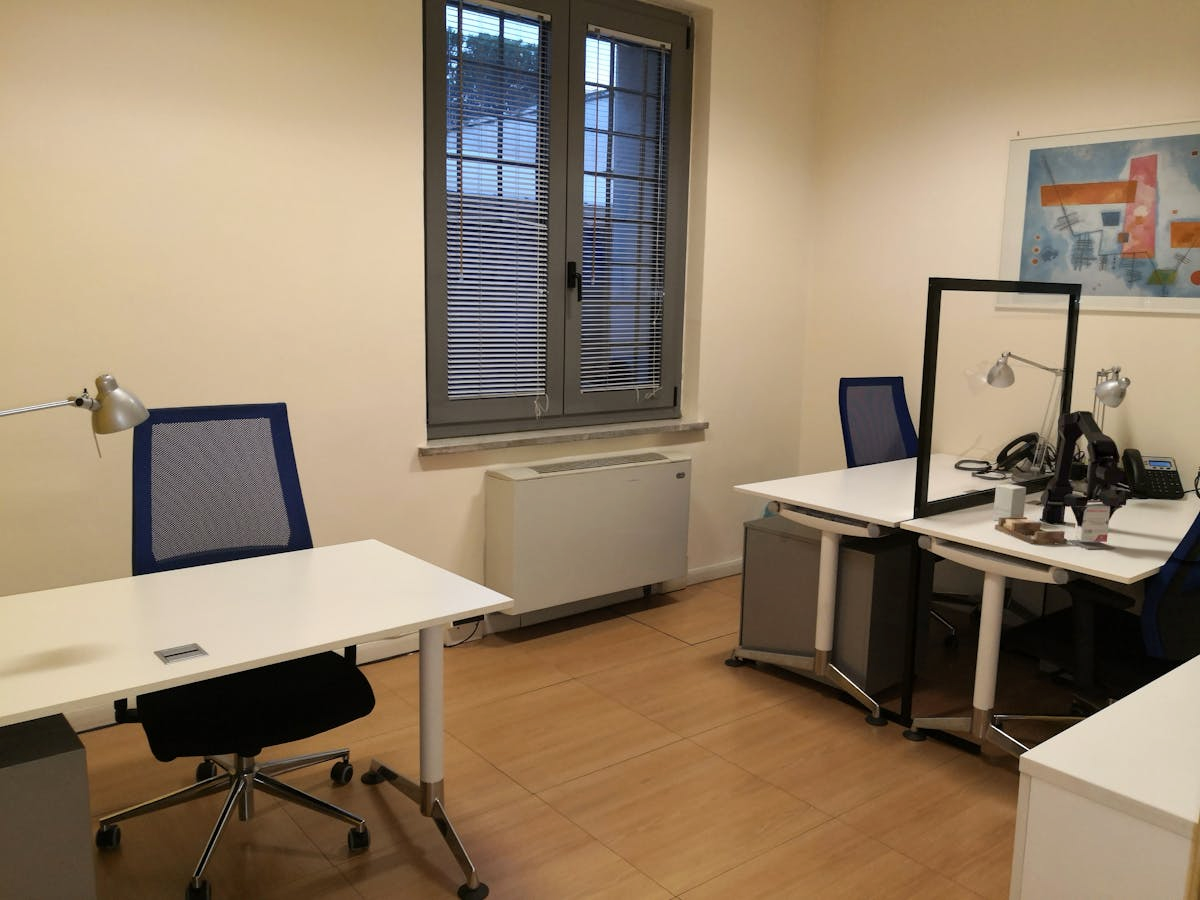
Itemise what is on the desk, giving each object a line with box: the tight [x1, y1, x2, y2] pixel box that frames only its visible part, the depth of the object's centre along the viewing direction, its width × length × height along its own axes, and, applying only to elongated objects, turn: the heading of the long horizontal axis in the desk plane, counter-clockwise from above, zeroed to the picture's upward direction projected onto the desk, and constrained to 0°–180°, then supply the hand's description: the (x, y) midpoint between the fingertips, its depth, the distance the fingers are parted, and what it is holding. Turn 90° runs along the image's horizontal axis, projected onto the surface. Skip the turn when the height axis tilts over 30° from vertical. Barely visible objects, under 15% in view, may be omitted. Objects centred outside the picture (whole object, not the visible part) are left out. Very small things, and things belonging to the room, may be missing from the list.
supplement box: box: [992, 483, 1027, 522], centre depth 344 cm, size 7×7×13 cm
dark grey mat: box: [1067, 539, 1116, 551], centre depth 314 cm, size 10×10×1 cm
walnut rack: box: [994, 516, 1068, 545], centre depth 323 cm, size 12×20×4 cm, turn 12°
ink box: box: [1073, 502, 1110, 543], centre depth 314 cm, size 9×5×12 cm, turn 91°
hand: (1092, 525), depth 314 cm, fingers closed on ink box, 9 cm apart
